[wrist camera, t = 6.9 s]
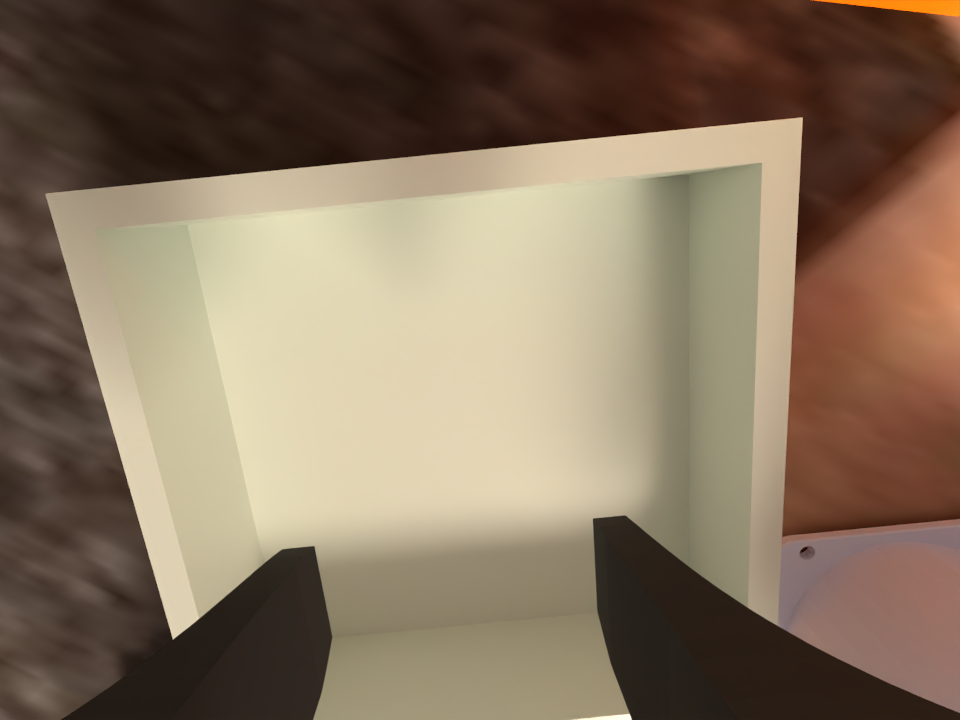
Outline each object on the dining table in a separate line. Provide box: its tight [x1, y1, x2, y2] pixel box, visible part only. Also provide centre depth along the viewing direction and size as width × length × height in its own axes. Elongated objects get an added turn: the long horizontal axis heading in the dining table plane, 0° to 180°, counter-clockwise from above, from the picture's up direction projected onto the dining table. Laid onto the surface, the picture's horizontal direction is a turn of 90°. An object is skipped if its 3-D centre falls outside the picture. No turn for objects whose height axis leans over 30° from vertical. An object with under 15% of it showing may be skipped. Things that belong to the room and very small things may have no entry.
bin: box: [46, 117, 803, 720], centre depth 16 cm, size 16×16×5 cm
